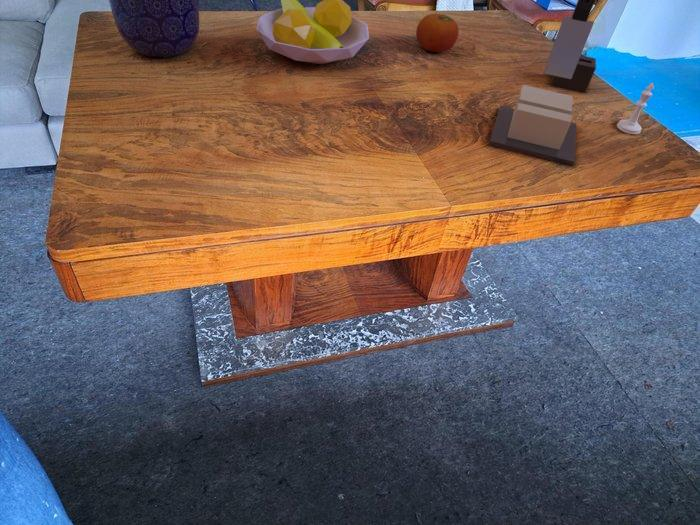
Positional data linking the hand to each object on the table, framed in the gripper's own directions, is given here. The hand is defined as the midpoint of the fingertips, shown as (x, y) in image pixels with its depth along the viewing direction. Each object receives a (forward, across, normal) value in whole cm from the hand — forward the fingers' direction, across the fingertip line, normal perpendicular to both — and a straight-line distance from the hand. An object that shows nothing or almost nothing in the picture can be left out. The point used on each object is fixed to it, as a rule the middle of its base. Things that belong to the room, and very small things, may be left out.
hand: (584, 6), depth 85 cm
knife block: (+25, +30, -6) cm, 40 cm away
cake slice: (+24, -3, 0) cm, 24 cm away
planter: (+25, -1, +85) cm, 89 cm away
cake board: (+25, 0, 0) cm, 25 cm away
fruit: (+25, +33, +28) cm, 50 cm away
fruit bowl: (+25, +16, +55) cm, 63 cm away
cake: (+24, +3, 0) cm, 24 cm away
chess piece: (+25, +14, -19) cm, 34 cm away
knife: (+12, 0, 0) cm, 12 cm away
